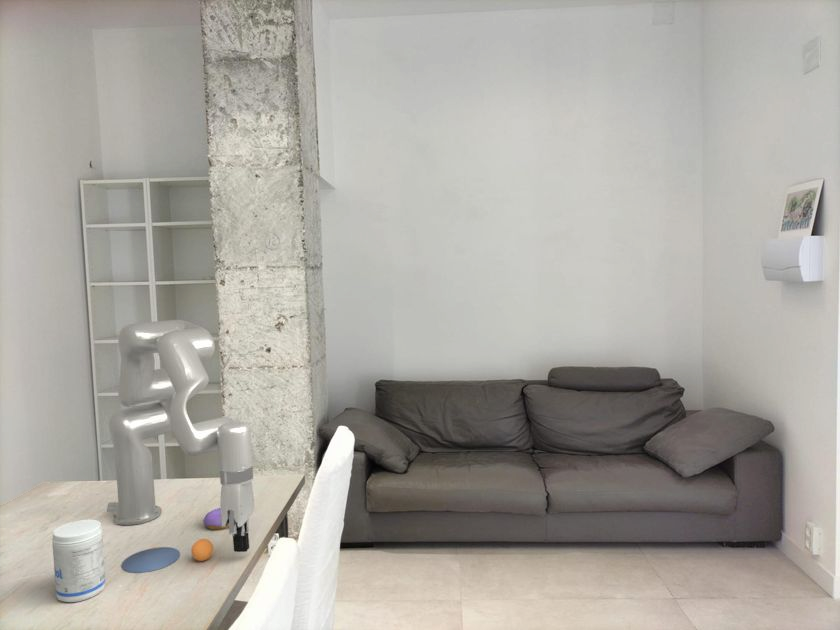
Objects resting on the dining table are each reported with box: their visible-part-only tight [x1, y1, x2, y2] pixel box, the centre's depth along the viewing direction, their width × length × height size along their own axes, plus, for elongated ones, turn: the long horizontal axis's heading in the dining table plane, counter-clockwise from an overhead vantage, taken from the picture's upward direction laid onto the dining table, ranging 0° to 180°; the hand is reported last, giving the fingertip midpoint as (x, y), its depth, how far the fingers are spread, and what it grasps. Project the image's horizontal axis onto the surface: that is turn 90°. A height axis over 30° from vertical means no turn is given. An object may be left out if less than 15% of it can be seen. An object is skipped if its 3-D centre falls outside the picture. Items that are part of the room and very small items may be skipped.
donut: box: [203, 507, 229, 531], centre depth 172 cm, size 10×9×5 cm
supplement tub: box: [51, 519, 106, 603], centre depth 136 cm, size 10×10×15 cm
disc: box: [121, 546, 181, 574], centre depth 151 cm, size 13×13×1 cm
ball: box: [190, 538, 214, 562], centre depth 150 cm, size 5×5×5 cm
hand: (241, 550), depth 149 cm, fingers closed
